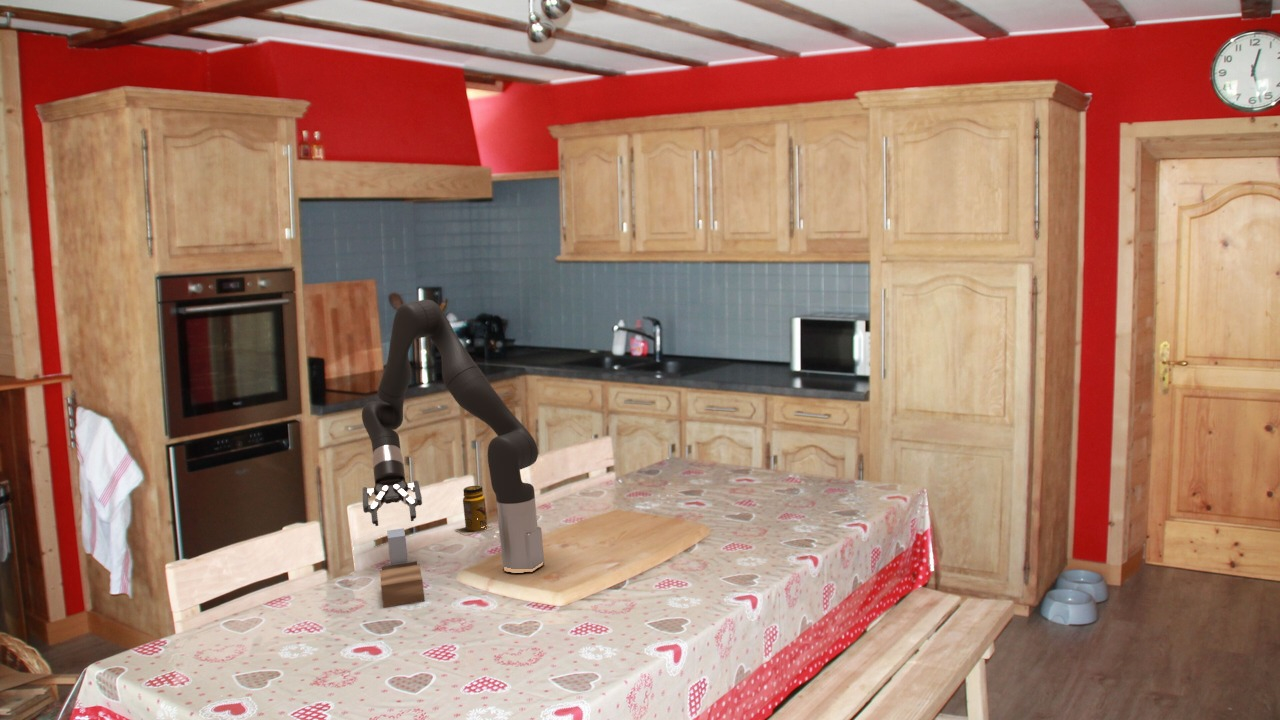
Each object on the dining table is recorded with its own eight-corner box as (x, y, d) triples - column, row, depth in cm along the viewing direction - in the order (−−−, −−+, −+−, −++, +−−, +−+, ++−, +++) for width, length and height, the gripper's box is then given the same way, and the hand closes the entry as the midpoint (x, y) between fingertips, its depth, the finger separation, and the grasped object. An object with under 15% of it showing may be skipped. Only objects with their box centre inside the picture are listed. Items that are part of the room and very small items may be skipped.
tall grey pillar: (392, 578, 252) (386, 530, 251) (409, 576, 253) (403, 528, 252) (393, 587, 246) (387, 538, 244) (410, 584, 247) (405, 535, 245)
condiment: (493, 529, 290) (489, 487, 289) (465, 535, 285) (460, 493, 284) (482, 524, 296) (477, 483, 295) (454, 530, 291) (450, 488, 290)
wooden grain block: (381, 580, 251) (378, 557, 250) (419, 575, 253) (416, 551, 253) (383, 607, 232) (380, 582, 231) (424, 600, 234) (421, 575, 234)
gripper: (358, 462, 261) (363, 518, 251) (416, 455, 264) (423, 509, 254) (360, 479, 266) (365, 534, 257) (417, 471, 270) (424, 525, 260)
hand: (394, 521), depth 255 cm, fingers open, 8 cm apart
